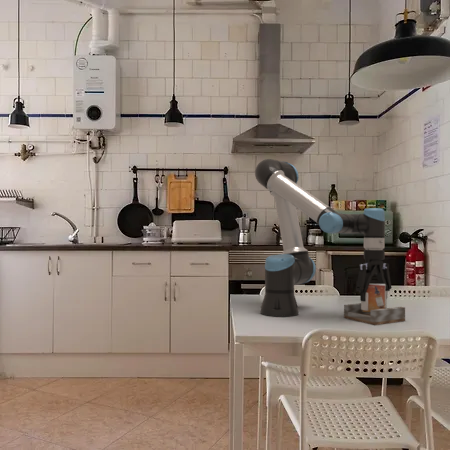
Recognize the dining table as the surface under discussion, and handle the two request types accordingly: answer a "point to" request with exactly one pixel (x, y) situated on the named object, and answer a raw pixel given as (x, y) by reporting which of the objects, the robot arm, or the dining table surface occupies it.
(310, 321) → the dining table surface
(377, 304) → the small box
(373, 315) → the cradle
